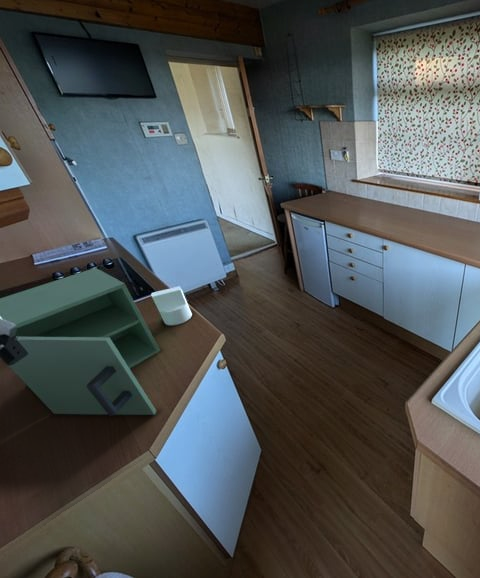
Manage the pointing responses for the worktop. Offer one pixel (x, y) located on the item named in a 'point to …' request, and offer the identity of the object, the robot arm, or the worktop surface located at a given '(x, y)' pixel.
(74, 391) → the cupboard door
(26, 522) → the worktop surface
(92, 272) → the cupboard
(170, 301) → the base with upright slab
